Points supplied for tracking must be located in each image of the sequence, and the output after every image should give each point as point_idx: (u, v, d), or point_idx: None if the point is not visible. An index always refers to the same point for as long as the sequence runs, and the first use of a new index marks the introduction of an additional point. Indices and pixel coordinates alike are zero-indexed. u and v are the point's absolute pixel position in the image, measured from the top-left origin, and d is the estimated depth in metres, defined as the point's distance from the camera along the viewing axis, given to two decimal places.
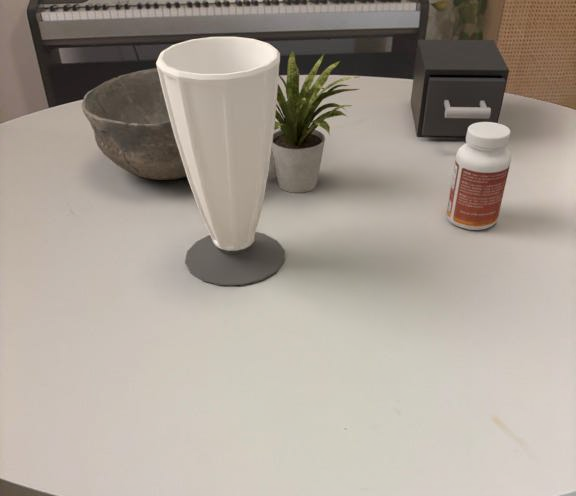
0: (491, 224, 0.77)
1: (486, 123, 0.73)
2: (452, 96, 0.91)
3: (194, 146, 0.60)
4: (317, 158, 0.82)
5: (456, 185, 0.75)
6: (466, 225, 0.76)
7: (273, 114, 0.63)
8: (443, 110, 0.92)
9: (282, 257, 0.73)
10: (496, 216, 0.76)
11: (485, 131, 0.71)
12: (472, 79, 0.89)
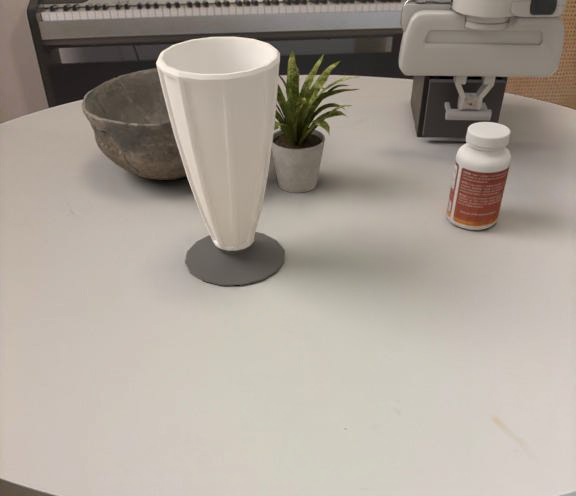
0: (491, 224, 0.77)
1: (486, 123, 0.73)
2: (453, 98, 0.90)
3: (194, 146, 0.60)
4: (317, 158, 0.82)
5: (456, 185, 0.75)
6: (466, 225, 0.76)
7: (273, 114, 0.63)
8: (444, 112, 0.91)
9: (282, 257, 0.73)
10: (496, 216, 0.76)
11: (485, 131, 0.71)
12: (473, 81, 0.89)
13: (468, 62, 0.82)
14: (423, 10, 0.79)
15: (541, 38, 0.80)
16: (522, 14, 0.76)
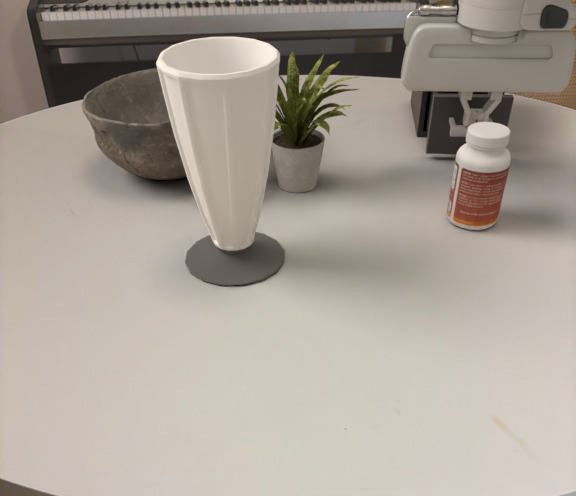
0: (491, 224, 0.77)
1: (486, 123, 0.73)
2: (457, 113, 0.86)
3: (194, 146, 0.60)
4: (317, 158, 0.82)
5: (456, 185, 0.75)
6: (466, 225, 0.76)
7: (273, 114, 0.63)
8: (448, 128, 0.88)
9: (282, 257, 0.73)
10: (496, 216, 0.76)
11: (485, 131, 0.71)
12: (478, 96, 0.85)
13: (474, 77, 0.78)
14: (427, 23, 0.75)
15: (551, 52, 0.76)
16: (531, 28, 0.72)
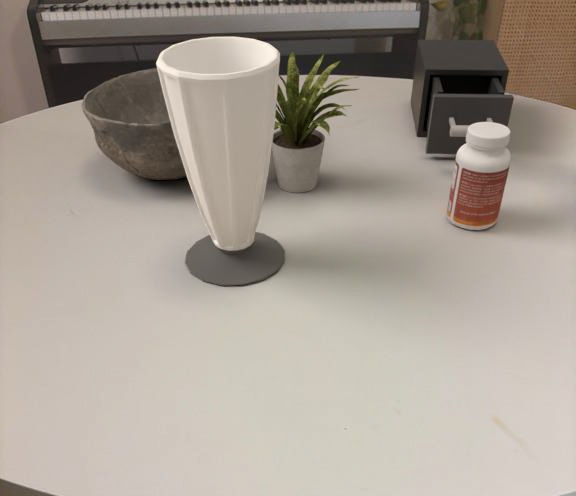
0: (491, 224, 0.77)
1: (486, 123, 0.73)
2: (457, 113, 0.86)
3: (194, 146, 0.60)
4: (317, 158, 0.82)
5: (456, 185, 0.75)
6: (466, 225, 0.76)
7: (273, 114, 0.63)
8: (448, 128, 0.88)
9: (282, 257, 0.73)
10: (496, 216, 0.76)
11: (485, 131, 0.71)
12: (479, 96, 0.85)
13: None
14: None
15: None
16: None
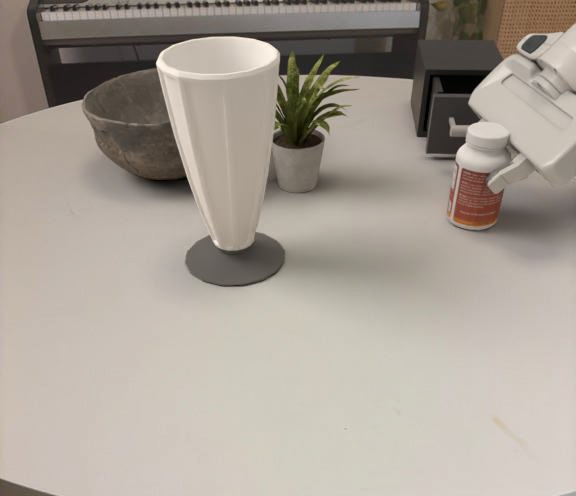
0: (491, 224, 0.77)
1: (486, 123, 0.73)
2: (457, 113, 0.86)
3: (194, 146, 0.60)
4: (317, 158, 0.82)
5: (456, 185, 0.75)
6: (466, 225, 0.76)
7: (273, 114, 0.63)
8: (448, 128, 0.88)
9: (282, 257, 0.73)
10: (496, 216, 0.76)
11: (485, 132, 0.71)
12: None
13: None
14: None
15: None
16: None
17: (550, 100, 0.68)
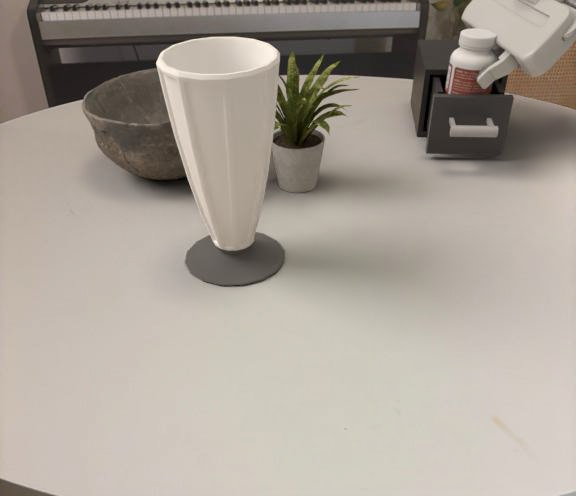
0: None
1: (476, 29, 0.84)
2: (457, 113, 0.86)
3: (194, 146, 0.60)
4: (317, 158, 0.82)
5: (450, 84, 0.86)
6: None
7: (273, 114, 0.63)
8: (448, 128, 0.87)
9: (282, 257, 0.73)
10: None
11: (475, 34, 0.83)
12: (479, 96, 0.85)
13: None
14: None
15: None
16: None
17: (531, 5, 0.80)
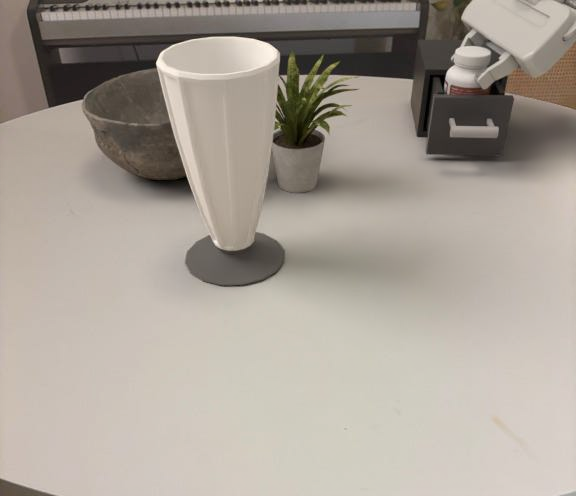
0: None
1: (471, 46, 0.86)
2: (458, 114, 0.86)
3: (194, 146, 0.60)
4: (317, 158, 0.82)
5: None
6: None
7: (273, 114, 0.63)
8: (448, 128, 0.87)
9: (282, 257, 0.73)
10: None
11: (469, 52, 0.84)
12: (479, 96, 0.85)
13: None
14: None
15: None
16: None
17: (531, 6, 0.80)
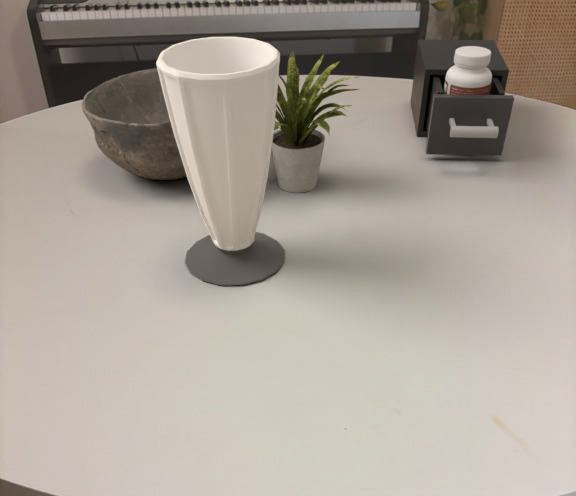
0: None
1: (471, 47, 0.86)
2: (458, 114, 0.86)
3: (194, 146, 0.60)
4: (317, 158, 0.82)
5: None
6: None
7: (273, 114, 0.63)
8: (448, 128, 0.87)
9: (282, 257, 0.73)
10: None
11: (469, 52, 0.84)
12: (479, 96, 0.85)
13: None
14: None
15: None
16: None
17: None
